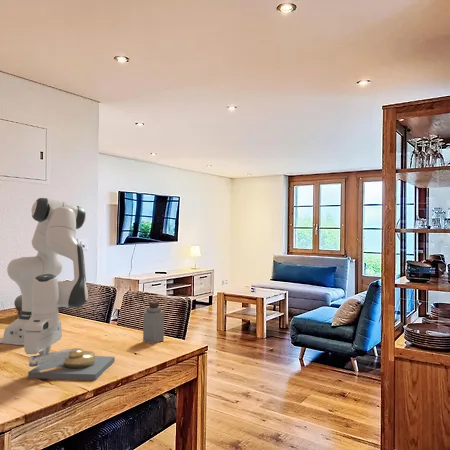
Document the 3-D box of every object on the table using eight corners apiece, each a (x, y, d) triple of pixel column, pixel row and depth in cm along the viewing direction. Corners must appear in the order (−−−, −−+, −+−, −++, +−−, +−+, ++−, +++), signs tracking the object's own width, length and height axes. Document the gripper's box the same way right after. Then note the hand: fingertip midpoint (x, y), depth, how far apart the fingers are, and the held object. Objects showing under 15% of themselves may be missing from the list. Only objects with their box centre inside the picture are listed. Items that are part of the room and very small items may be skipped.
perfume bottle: (153, 343, 188) (154, 304, 188) (143, 341, 191) (143, 302, 192) (163, 340, 194) (164, 302, 194) (152, 338, 197) (153, 300, 197)
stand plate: (27, 378, 142) (27, 371, 142) (55, 359, 162) (55, 354, 162) (95, 380, 141) (95, 374, 141) (114, 361, 161) (114, 355, 161)
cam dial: (86, 356, 159) (86, 341, 160) (100, 363, 152) (100, 347, 152) (22, 371, 143) (23, 354, 143) (35, 379, 135) (35, 361, 135)
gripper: (50, 314, 156) (49, 350, 156) (20, 327, 136) (19, 368, 136) (66, 314, 156) (65, 351, 156) (39, 327, 135) (38, 369, 135)
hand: (44, 359), depth 145 cm, fingers closed
